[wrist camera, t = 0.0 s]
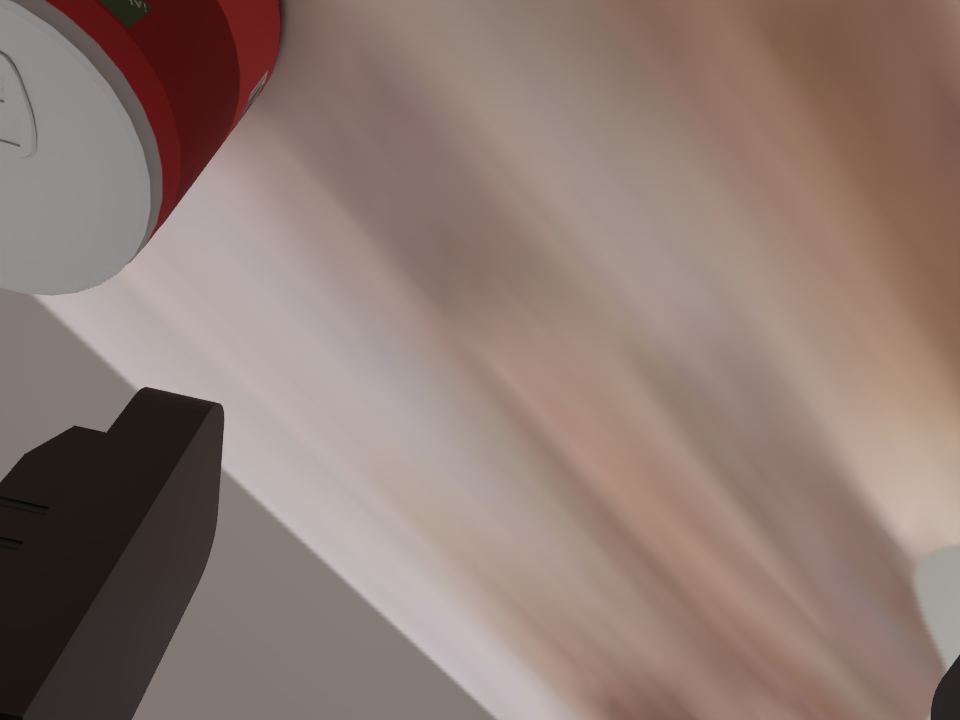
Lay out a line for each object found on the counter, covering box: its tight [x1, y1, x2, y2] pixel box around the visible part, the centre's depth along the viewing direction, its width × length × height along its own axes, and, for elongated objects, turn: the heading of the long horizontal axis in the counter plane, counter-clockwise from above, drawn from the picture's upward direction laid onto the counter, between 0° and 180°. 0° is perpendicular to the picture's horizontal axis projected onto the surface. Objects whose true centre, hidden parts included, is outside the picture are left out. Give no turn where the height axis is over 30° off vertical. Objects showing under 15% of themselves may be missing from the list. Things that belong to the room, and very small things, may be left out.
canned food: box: [0, 0, 281, 295], centre depth 25 cm, size 8×8×11 cm
